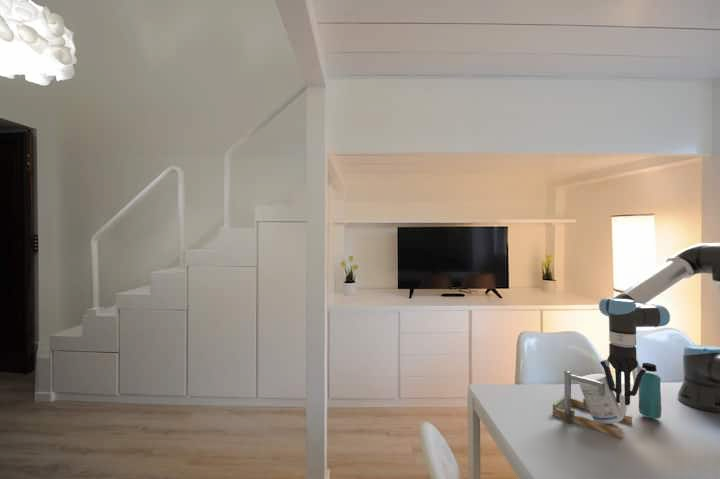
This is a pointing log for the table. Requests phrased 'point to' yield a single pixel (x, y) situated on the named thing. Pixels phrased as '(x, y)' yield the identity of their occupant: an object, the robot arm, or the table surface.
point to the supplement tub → (601, 401)
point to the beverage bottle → (650, 393)
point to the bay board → (607, 429)
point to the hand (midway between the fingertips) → (623, 413)
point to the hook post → (567, 391)
